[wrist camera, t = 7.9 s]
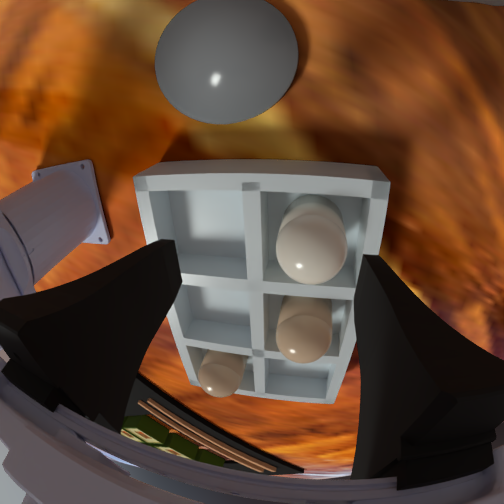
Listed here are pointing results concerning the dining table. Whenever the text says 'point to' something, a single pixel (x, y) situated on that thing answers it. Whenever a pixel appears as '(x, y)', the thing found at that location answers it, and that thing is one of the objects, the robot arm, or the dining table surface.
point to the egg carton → (257, 261)
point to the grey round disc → (226, 59)
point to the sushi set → (191, 434)
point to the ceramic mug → (485, 2)
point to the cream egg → (311, 240)
